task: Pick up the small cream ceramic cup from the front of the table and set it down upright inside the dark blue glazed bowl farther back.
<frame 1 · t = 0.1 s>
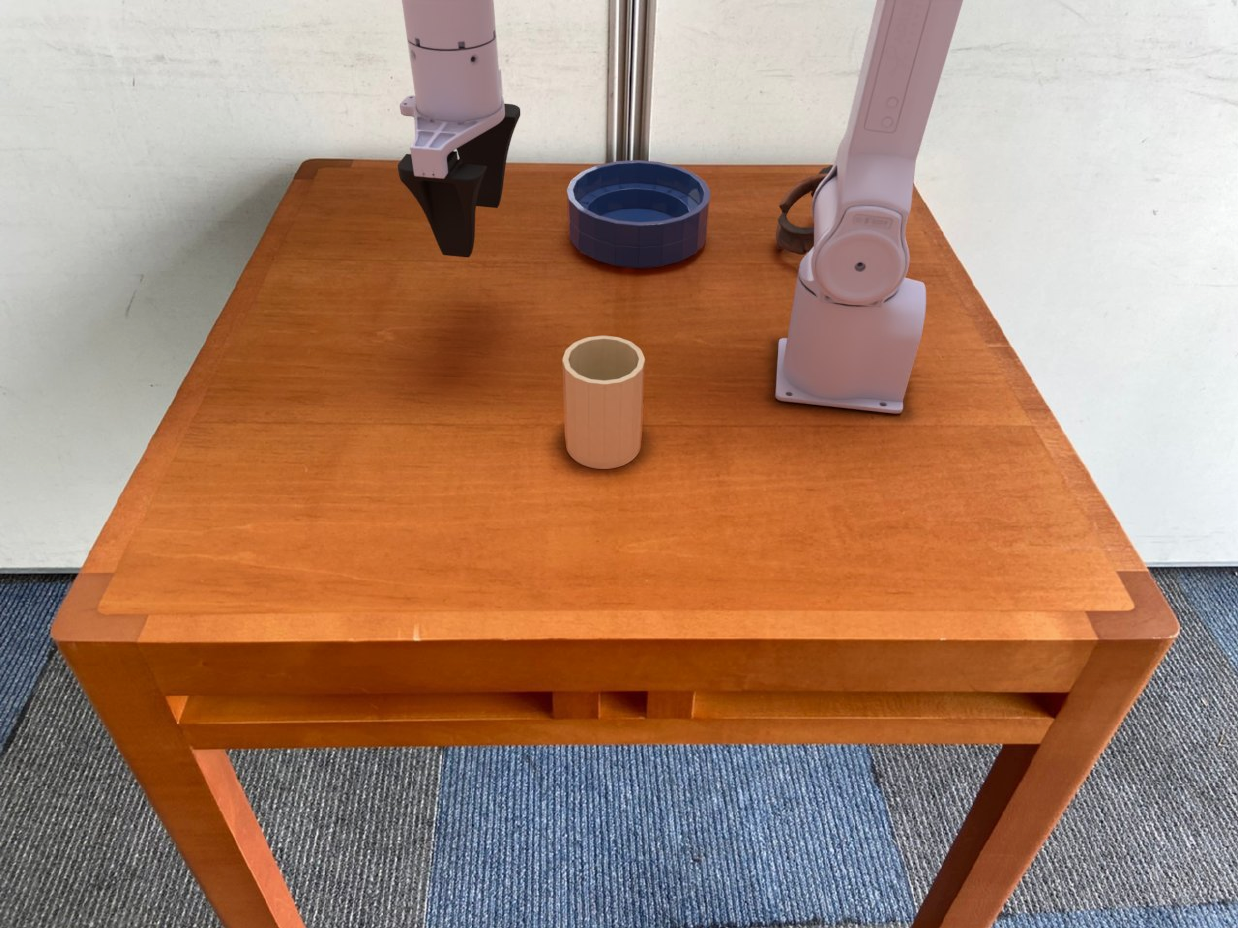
hand: (472, 228, 68), 10 cm above the table, tool pointing down, fingers open, 7 cm apart
cup: (603, 443, 65), on the table
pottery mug: (825, 248, 87), on the table
bowl: (637, 239, 87), on the table
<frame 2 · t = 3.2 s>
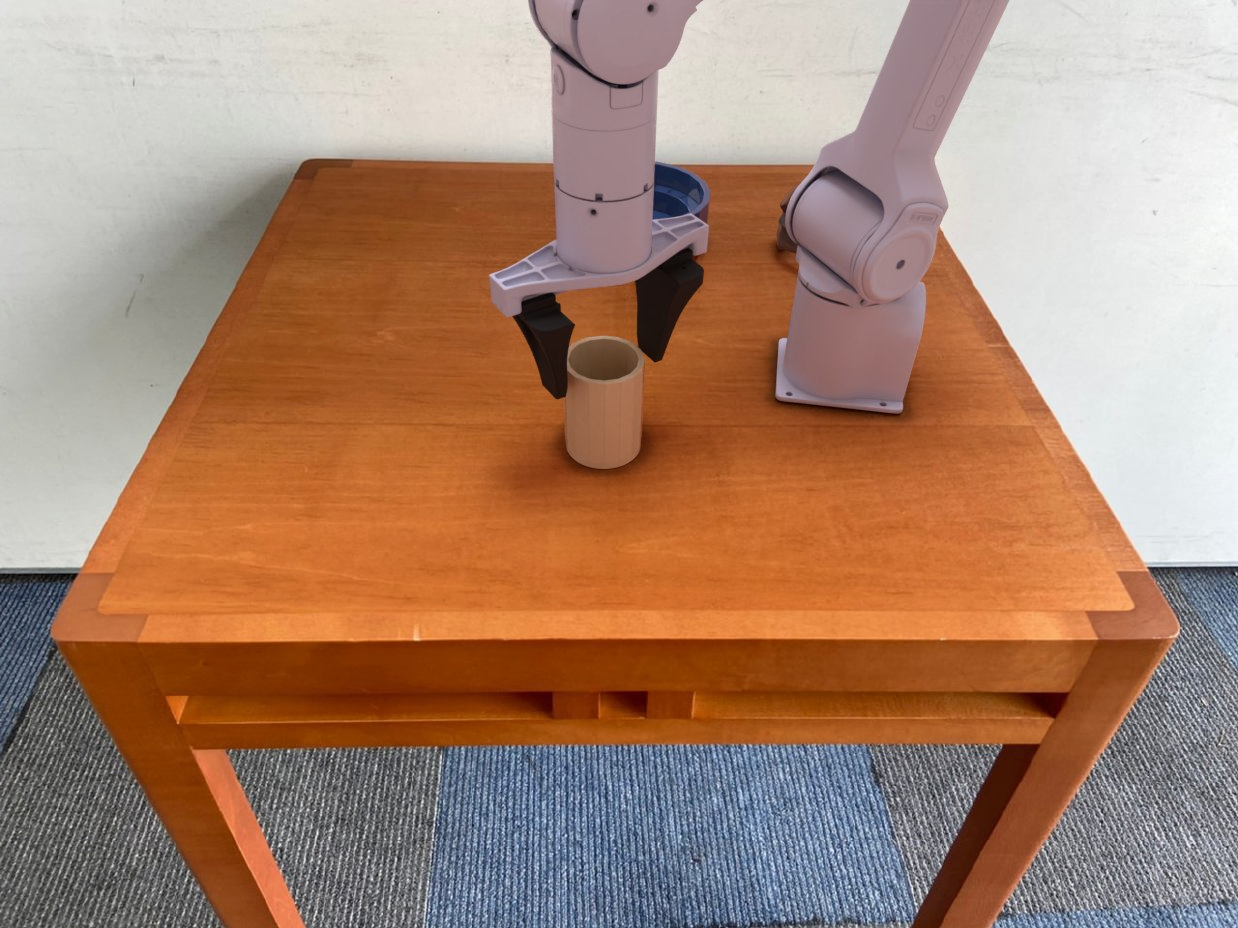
hand: (603, 371, 61), 6 cm above the table, tool pointing down, fingers open, 7 cm apart
nothing on the table moved.
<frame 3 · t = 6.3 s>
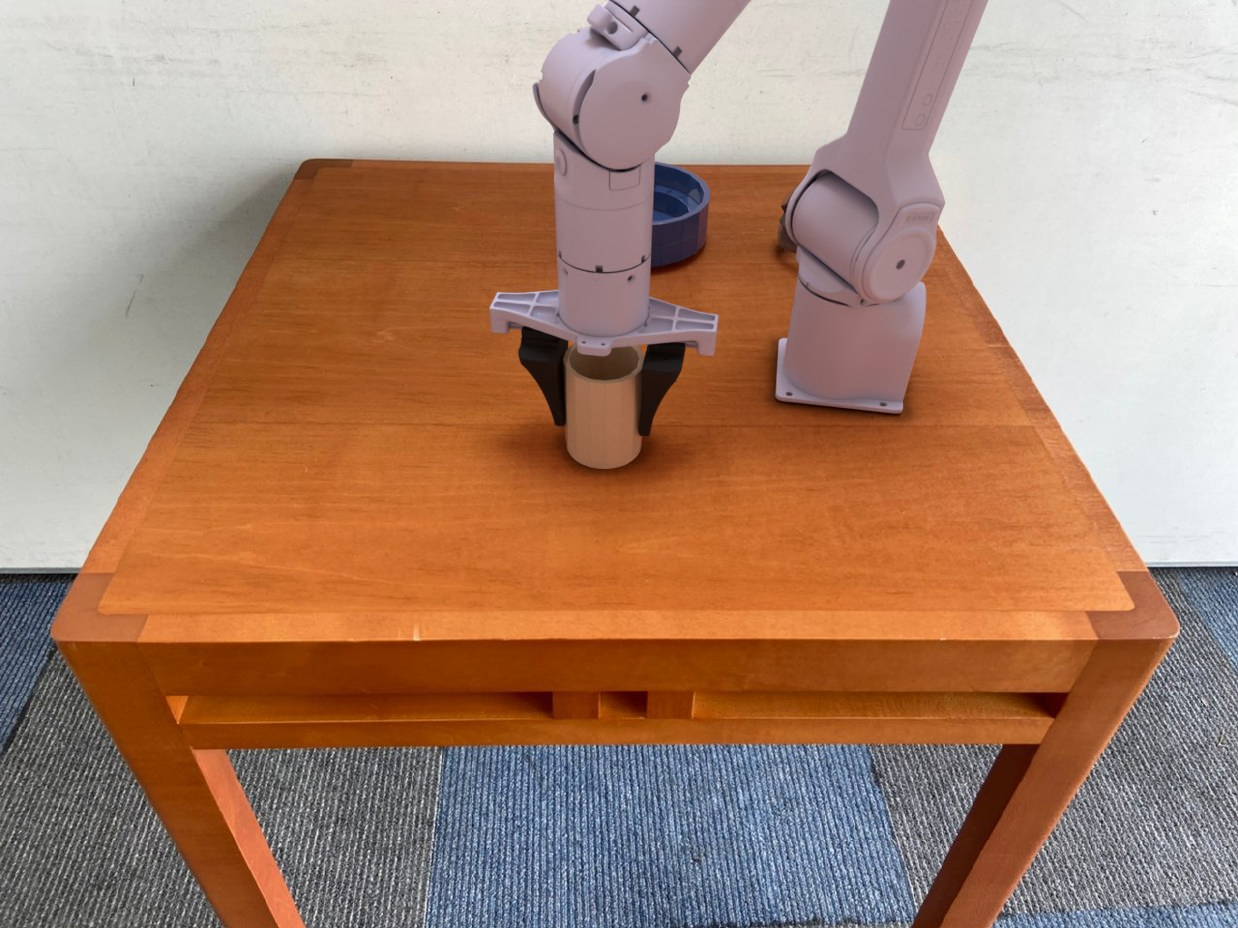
hand: (603, 422, 64), 2 cm above the table, tool pointing down, fingers closed on cup, 5 cm apart
cup: (603, 443, 65), on the table, touching gripper
everything else where it was.
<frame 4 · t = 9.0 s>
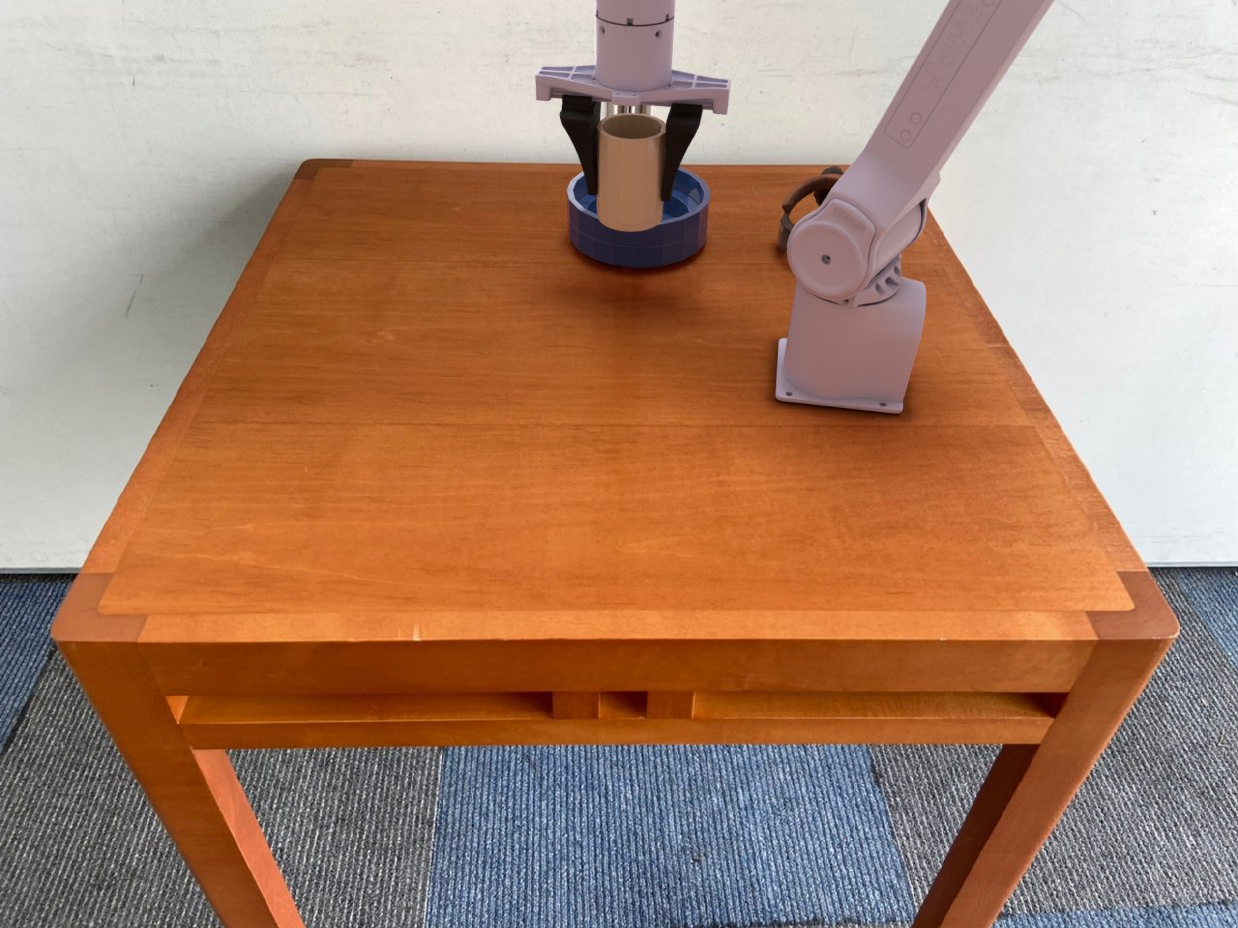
hand: (629, 193, 74), 9 cm above the table, tool pointing down, fingers closed on cup, 5 cm apart
cup: (629, 216, 75), point 7 cm above the table, touching gripper
everything else where it was.
when the fingers open (3 cm above the table, at t = 11.9 s): cup stays where it is, resting on bowl.
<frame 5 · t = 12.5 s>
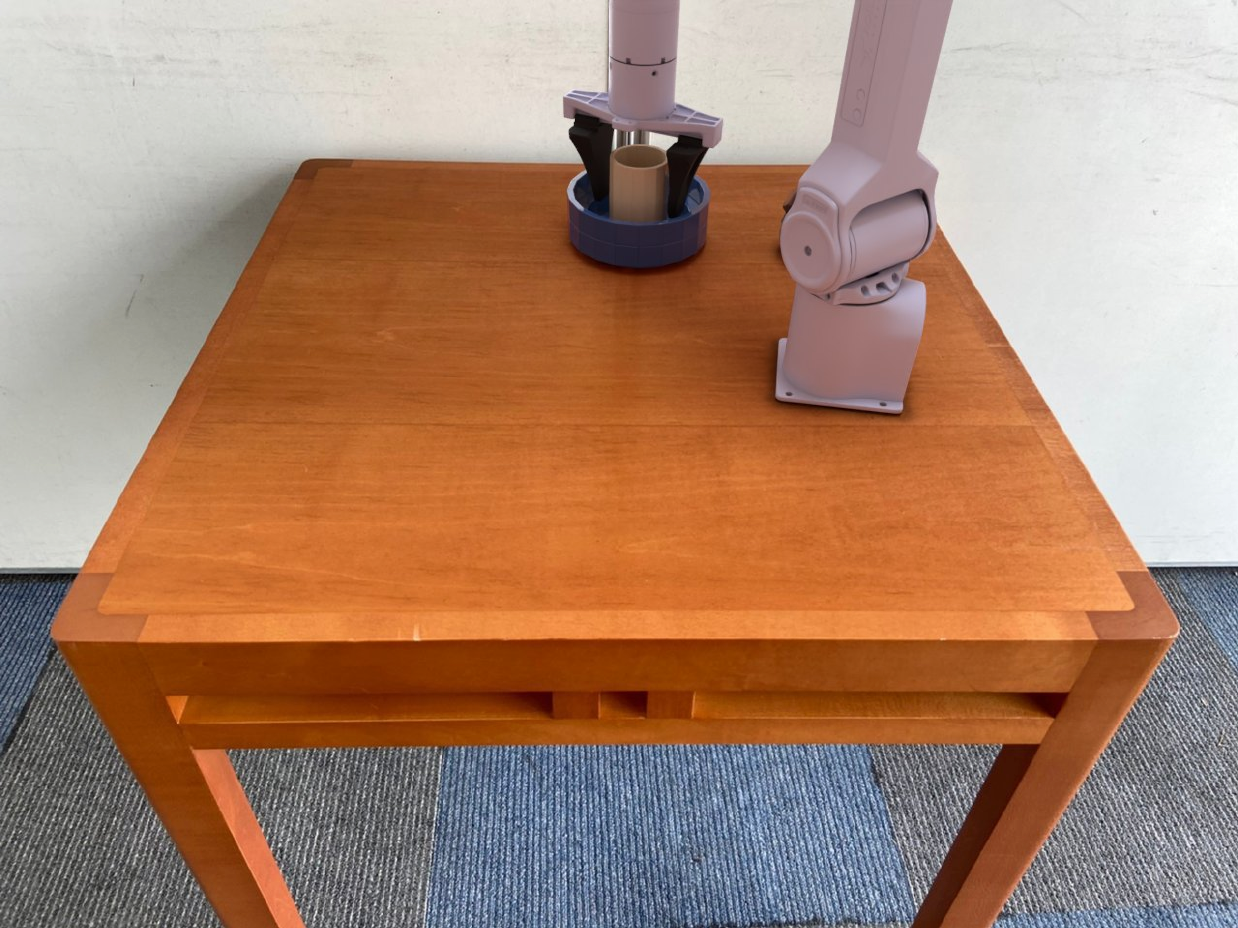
hand: (638, 205, 85), 4 cm above the table, tool pointing down, fingers open, 7 cm apart
cup: (637, 232, 87), point 1 cm above the table, touching bowl
everything else where it was.
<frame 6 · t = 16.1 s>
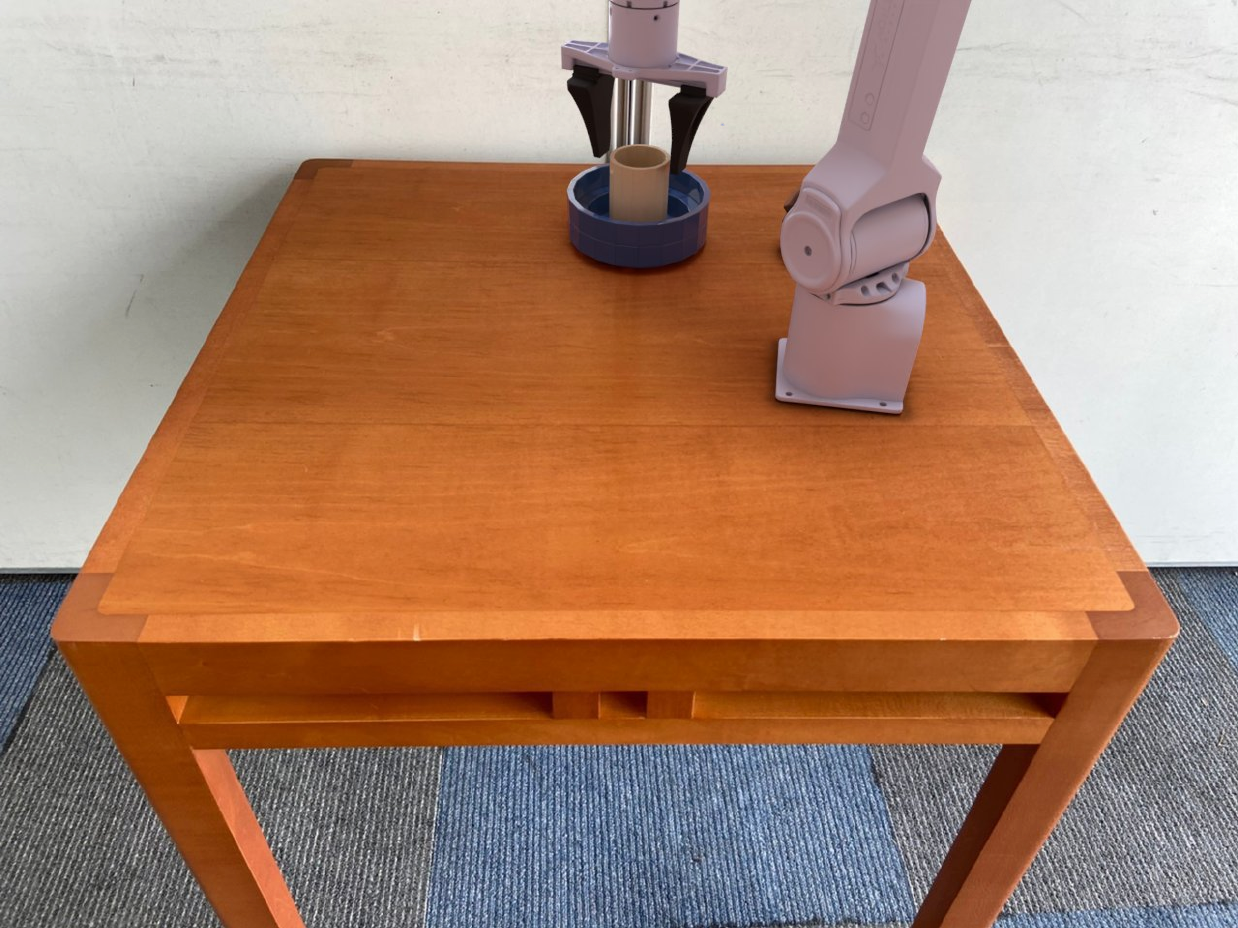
hand: (639, 162, 82), 8 cm above the table, tool pointing down, fingers open, 7 cm apart
nothing on the table moved.
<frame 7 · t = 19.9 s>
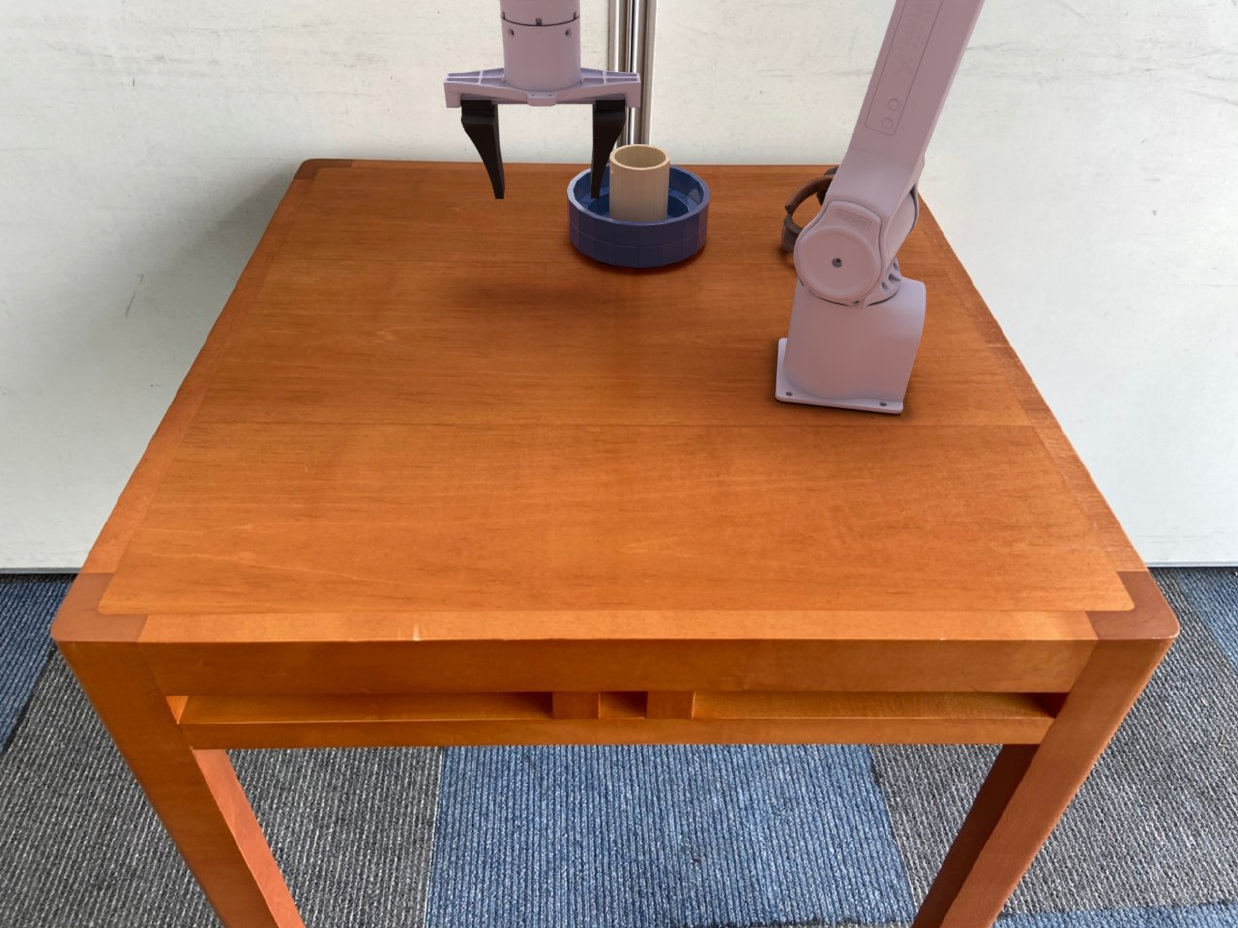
hand: (547, 193, 73), 9 cm above the table, tool pointing down, fingers open, 7 cm apart
nothing on the table moved.
at the end: cup 0.0 cm off-centre in the bowl, point 0.8 cm above the bowl's base; cup tilted 0°; the gripper is holding nothing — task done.
